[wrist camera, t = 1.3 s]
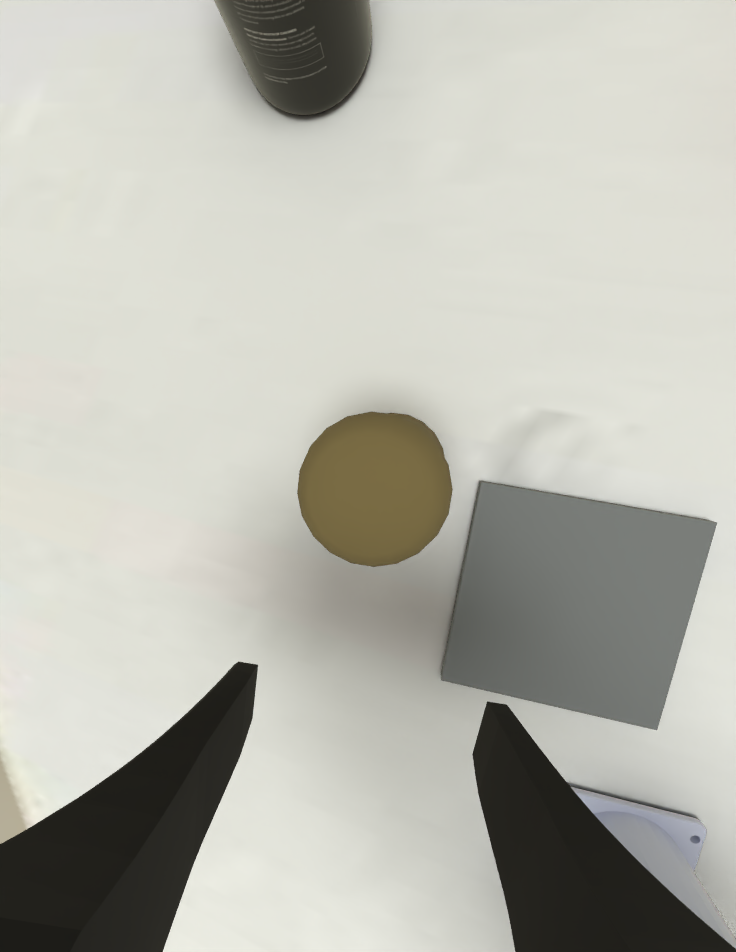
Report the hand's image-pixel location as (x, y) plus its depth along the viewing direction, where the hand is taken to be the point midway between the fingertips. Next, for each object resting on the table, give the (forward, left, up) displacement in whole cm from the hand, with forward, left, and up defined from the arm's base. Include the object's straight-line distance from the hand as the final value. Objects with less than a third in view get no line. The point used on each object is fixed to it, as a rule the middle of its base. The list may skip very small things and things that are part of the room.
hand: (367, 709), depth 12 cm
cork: (+6, +1, -12) cm, 13 cm away
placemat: (0, -10, -11) cm, 15 cm away
